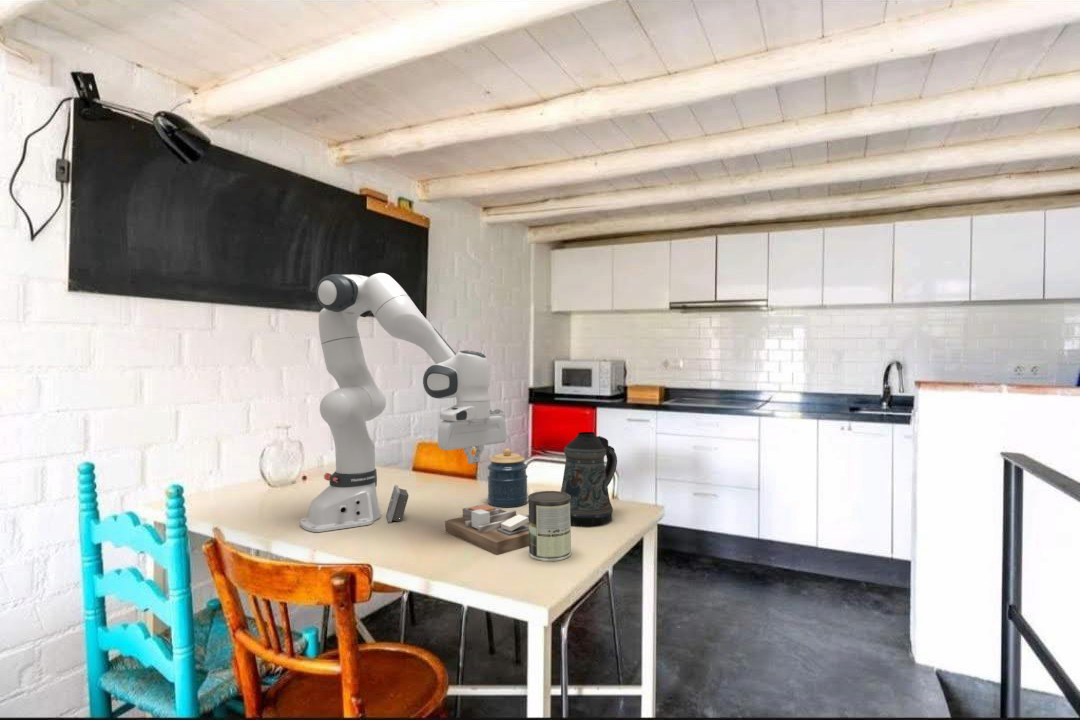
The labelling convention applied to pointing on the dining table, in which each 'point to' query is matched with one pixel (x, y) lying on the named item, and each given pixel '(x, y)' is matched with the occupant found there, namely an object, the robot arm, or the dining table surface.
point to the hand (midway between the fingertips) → (473, 463)
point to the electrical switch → (397, 504)
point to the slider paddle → (480, 518)
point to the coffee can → (549, 525)
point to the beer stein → (589, 479)
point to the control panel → (490, 531)
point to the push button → (481, 508)
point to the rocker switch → (514, 522)
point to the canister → (507, 480)
